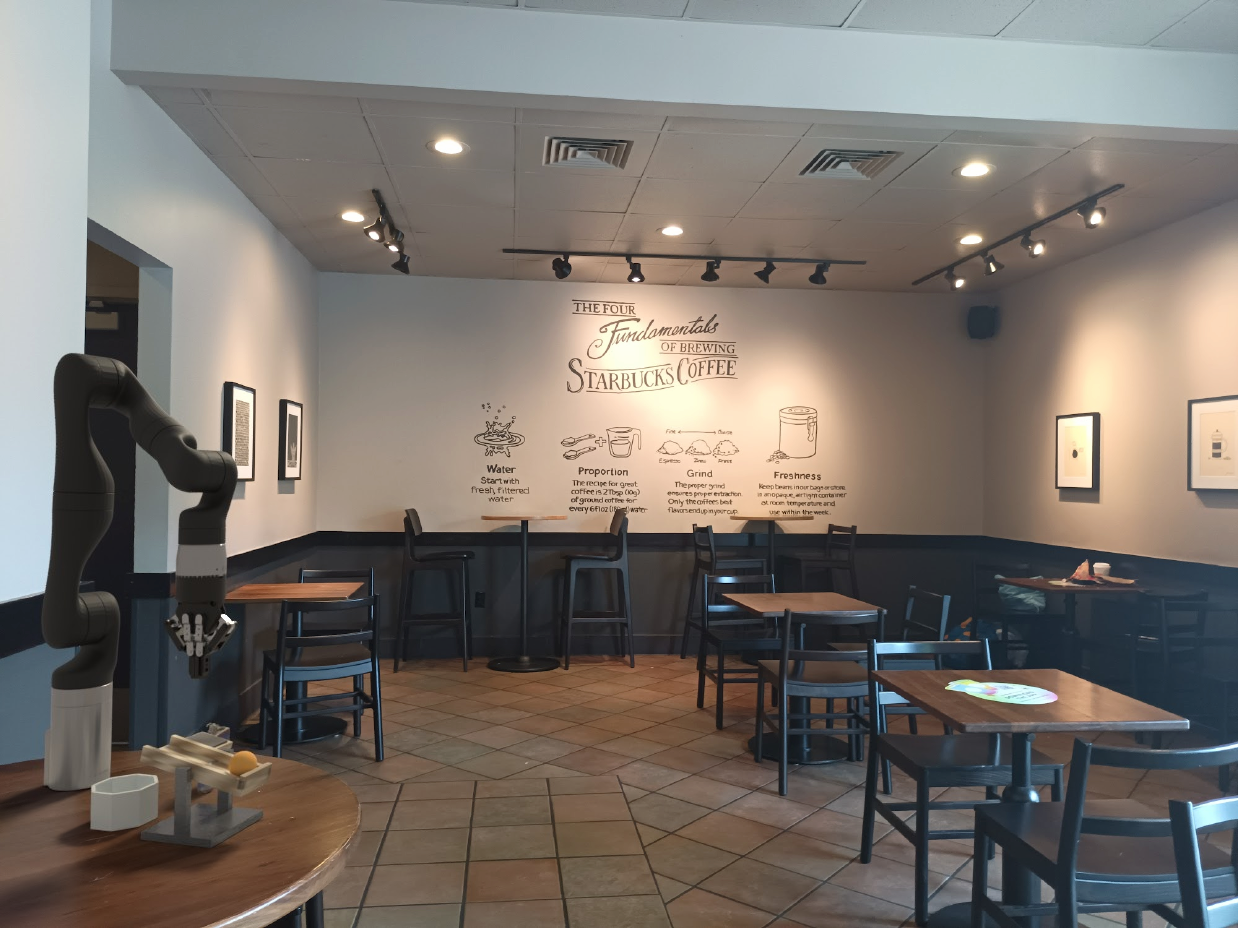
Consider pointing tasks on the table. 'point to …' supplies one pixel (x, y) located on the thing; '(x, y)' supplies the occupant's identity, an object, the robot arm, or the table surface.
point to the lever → (206, 763)
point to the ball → (242, 763)
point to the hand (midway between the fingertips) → (199, 678)
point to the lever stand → (200, 817)
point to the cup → (124, 802)
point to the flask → (219, 732)
